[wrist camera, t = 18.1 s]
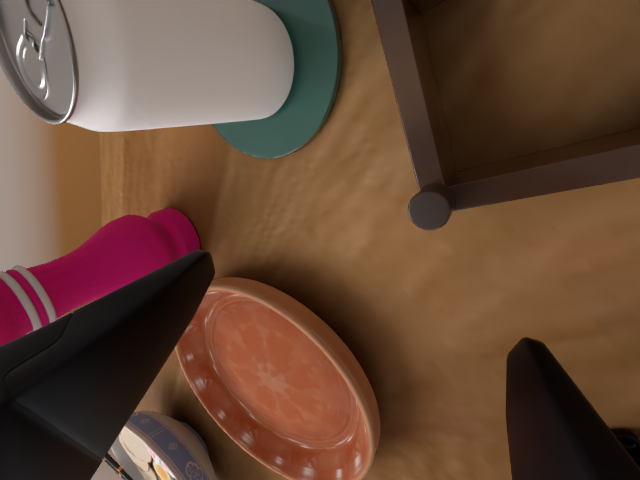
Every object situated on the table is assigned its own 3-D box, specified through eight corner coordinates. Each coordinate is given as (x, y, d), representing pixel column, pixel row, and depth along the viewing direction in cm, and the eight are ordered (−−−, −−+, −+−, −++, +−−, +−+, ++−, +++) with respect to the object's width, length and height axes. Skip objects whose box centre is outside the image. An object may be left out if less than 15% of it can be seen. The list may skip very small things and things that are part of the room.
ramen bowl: (255, 448, 41) (207, 513, 35) (248, 520, 53) (211, 579, 46) (135, 355, 51) (79, 392, 44) (151, 433, 62) (108, 472, 55)
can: (206, 69, 22) (-27, 47, 13) (248, -25, 18) (-44, -161, 9) (262, 139, 22) (69, 172, 12) (318, 61, 18) (97, 19, 8)
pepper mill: (215, 253, 30) (-112, 424, 14) (184, 277, 35) (-93, 428, 19) (174, 189, 30) (-210, 294, 14) (147, 222, 34) (-167, 329, 18)
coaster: (263, 188, 24) (258, 190, 24) (173, 61, 24) (166, 60, 24) (382, 69, 17) (379, 68, 16) (256, -117, 17) (248, -123, 16)
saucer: (417, 334, 22) (403, 370, 19) (362, 493, 33) (348, 532, 30) (191, 235, 31) (158, 249, 28) (206, 385, 42) (183, 407, 39)
